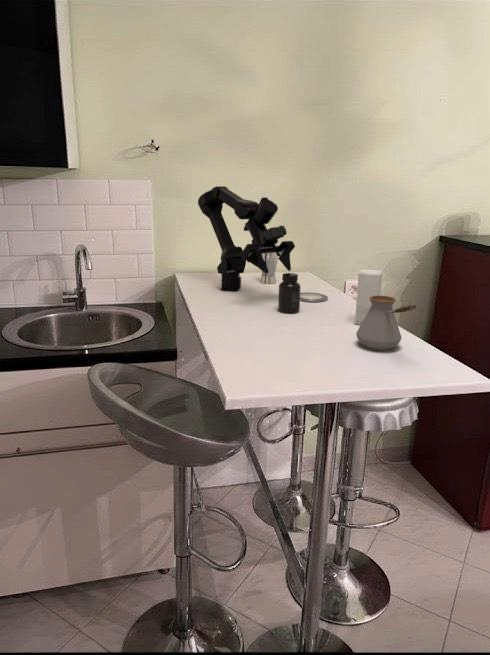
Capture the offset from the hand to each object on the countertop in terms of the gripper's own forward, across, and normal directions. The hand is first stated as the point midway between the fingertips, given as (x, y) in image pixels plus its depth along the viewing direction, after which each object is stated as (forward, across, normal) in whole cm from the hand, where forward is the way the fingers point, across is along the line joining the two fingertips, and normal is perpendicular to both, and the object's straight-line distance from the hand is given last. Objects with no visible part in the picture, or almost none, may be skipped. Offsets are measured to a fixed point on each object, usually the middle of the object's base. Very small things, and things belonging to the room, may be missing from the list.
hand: (278, 271), depth 166 cm
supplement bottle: (+13, 0, +4) cm, 13 cm away
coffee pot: (+43, -3, -25) cm, 50 cm away
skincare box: (+28, +13, -10) cm, 32 cm away
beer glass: (-14, +20, +30) cm, 39 cm away
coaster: (+6, +18, +11) cm, 22 cm away
